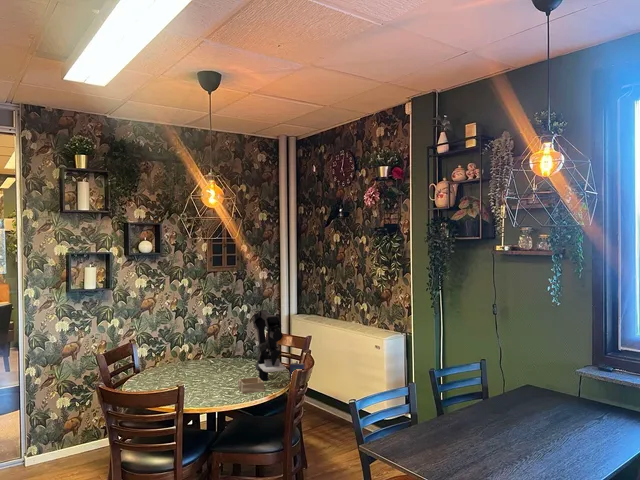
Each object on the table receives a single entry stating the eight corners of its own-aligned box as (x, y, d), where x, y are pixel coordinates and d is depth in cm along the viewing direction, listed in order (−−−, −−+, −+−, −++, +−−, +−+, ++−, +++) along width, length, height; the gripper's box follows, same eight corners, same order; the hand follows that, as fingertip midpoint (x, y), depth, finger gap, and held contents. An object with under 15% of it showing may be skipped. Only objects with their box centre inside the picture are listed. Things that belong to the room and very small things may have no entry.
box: (238, 387, 274) (238, 379, 275) (258, 385, 279) (258, 376, 279) (243, 393, 263) (243, 384, 263) (264, 391, 268) (264, 382, 268)
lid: (258, 367, 280) (258, 358, 280) (279, 365, 284) (279, 356, 284) (263, 373, 268) (263, 363, 268) (286, 371, 272) (286, 361, 272)
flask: (304, 377, 296) (304, 360, 296) (304, 379, 293) (304, 361, 293) (289, 377, 296) (289, 360, 296) (289, 378, 293) (289, 361, 293)
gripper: (254, 335, 282) (254, 362, 282) (262, 341, 265) (262, 369, 264) (273, 334, 286) (273, 360, 286) (281, 340, 268) (281, 368, 268)
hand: (272, 364), depth 276 cm, fingers closed on lid, 4 cm apart
